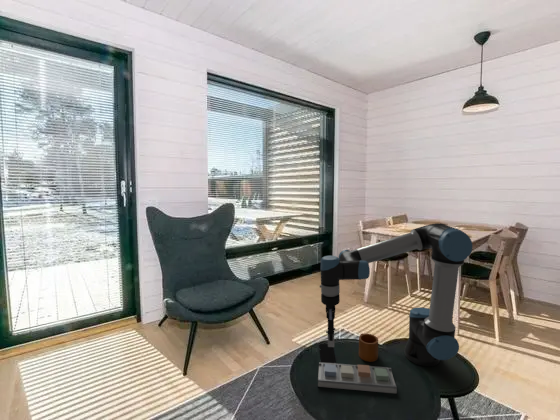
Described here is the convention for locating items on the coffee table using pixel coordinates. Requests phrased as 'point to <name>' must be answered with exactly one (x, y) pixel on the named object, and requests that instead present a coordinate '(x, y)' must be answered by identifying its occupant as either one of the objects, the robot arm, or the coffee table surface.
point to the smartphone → (327, 354)
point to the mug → (368, 347)
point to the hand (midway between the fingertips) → (331, 345)
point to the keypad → (356, 380)
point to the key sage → (381, 374)
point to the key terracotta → (364, 371)
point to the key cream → (346, 371)
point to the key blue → (330, 370)
